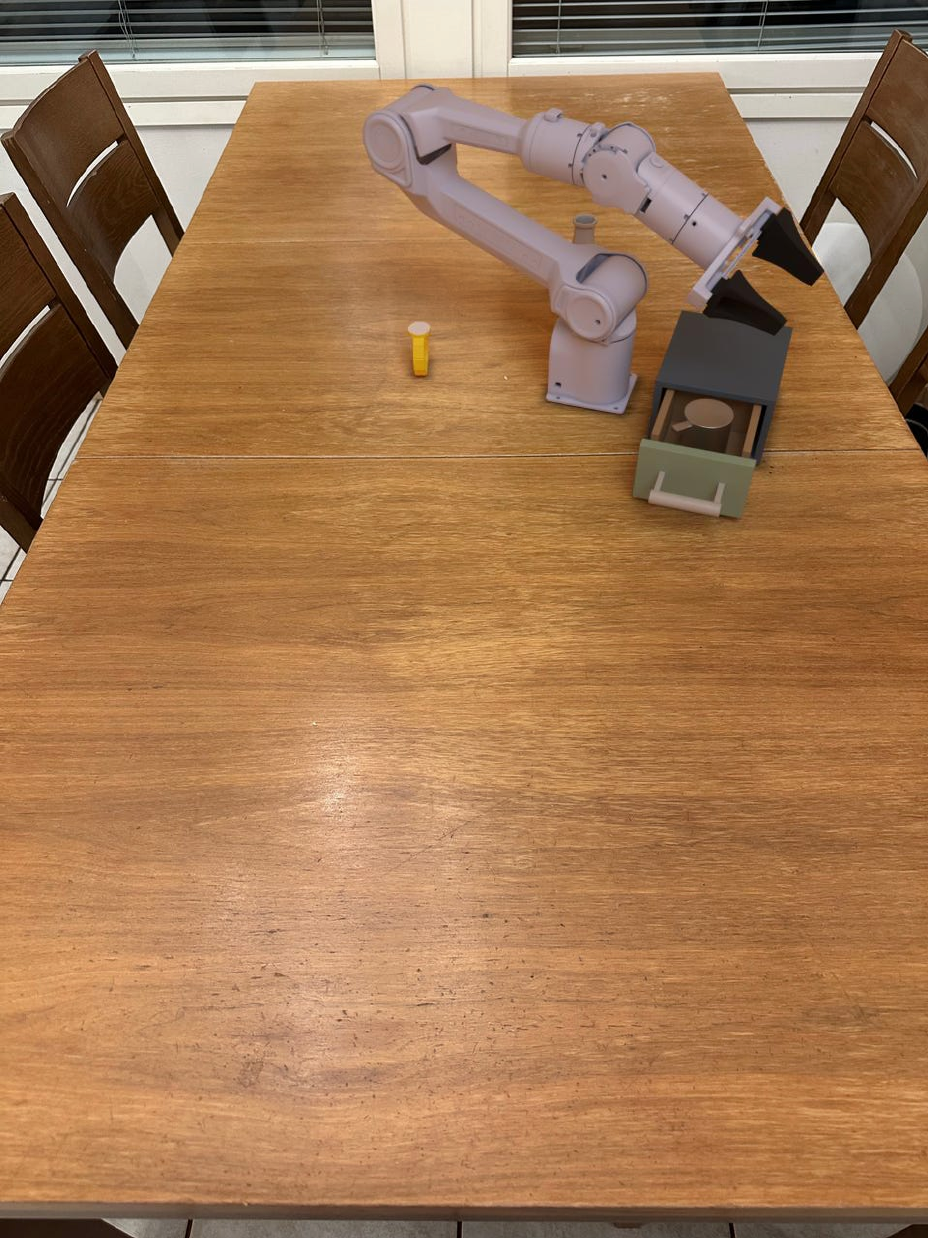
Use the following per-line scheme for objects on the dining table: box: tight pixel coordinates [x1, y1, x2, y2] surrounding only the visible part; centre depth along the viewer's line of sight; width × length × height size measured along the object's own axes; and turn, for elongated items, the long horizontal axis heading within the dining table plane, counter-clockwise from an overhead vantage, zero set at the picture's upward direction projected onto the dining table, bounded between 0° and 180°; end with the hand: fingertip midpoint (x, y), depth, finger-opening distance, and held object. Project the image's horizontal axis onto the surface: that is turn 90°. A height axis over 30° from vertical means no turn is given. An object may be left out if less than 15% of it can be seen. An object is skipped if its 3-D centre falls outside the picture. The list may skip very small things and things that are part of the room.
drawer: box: [632, 388, 762, 520], centre depth 99 cm, size 18×11×7 cm, turn 160°
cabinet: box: [646, 309, 794, 467], centre depth 107 cm, size 15×13×9 cm
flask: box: [571, 212, 598, 244], centre depth 126 cm, size 7×7×10 cm
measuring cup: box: [671, 399, 734, 454], centre depth 100 cm, size 7×5×6 cm
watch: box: [407, 321, 432, 377], centre depth 116 cm, size 6×3×6 cm, turn 178°
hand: (799, 303), depth 93 cm, fingers open, 7 cm apart
